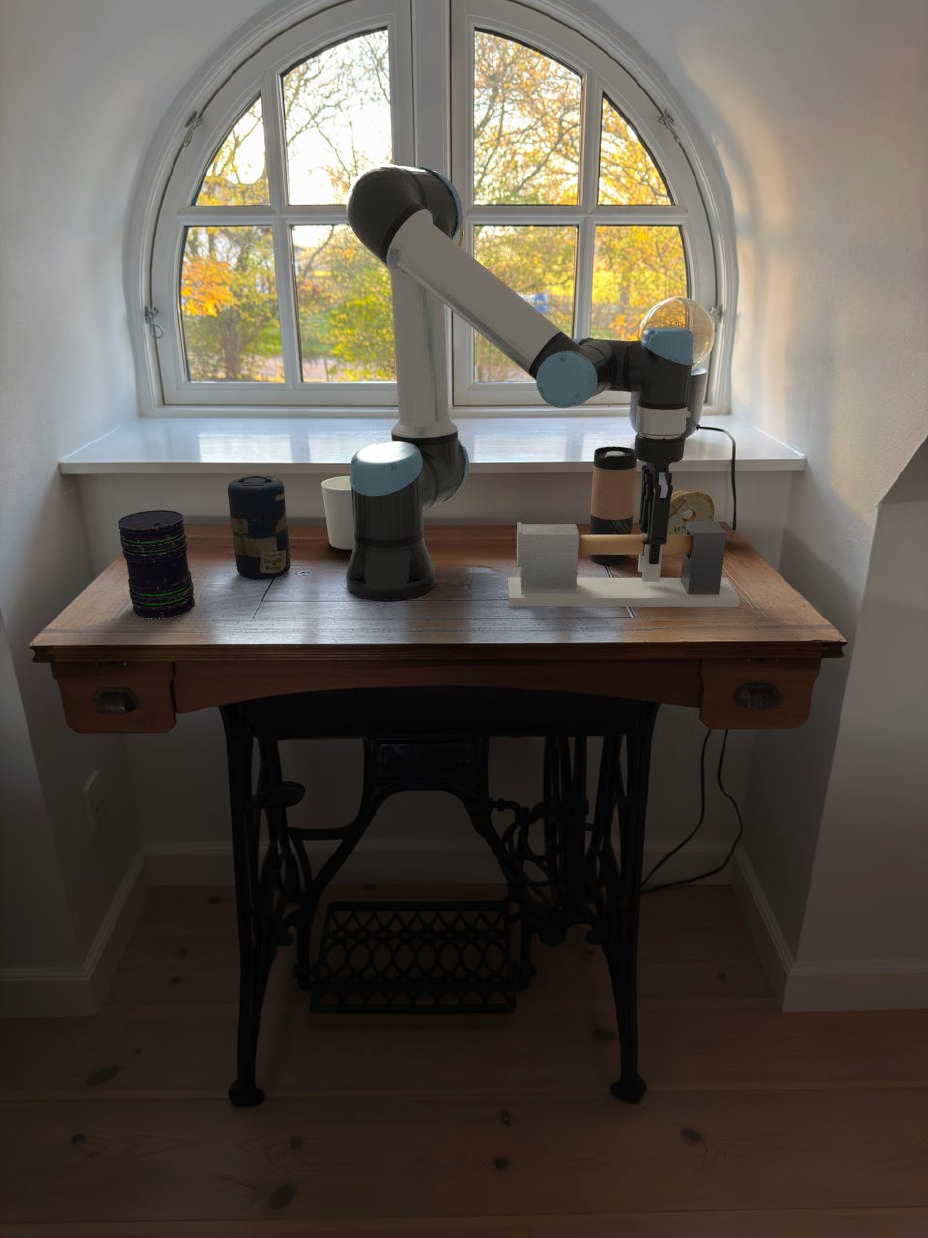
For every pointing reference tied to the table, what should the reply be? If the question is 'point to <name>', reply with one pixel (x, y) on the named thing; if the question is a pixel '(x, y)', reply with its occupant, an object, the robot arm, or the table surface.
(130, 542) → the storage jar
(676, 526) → the stone disc
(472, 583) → the table surface
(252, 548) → the canister
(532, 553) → the light grey block
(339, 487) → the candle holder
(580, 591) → the baseboard
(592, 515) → the travel mug
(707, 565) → the charcoal socket
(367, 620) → the table surface
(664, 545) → the orange tube
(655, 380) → the robot arm
